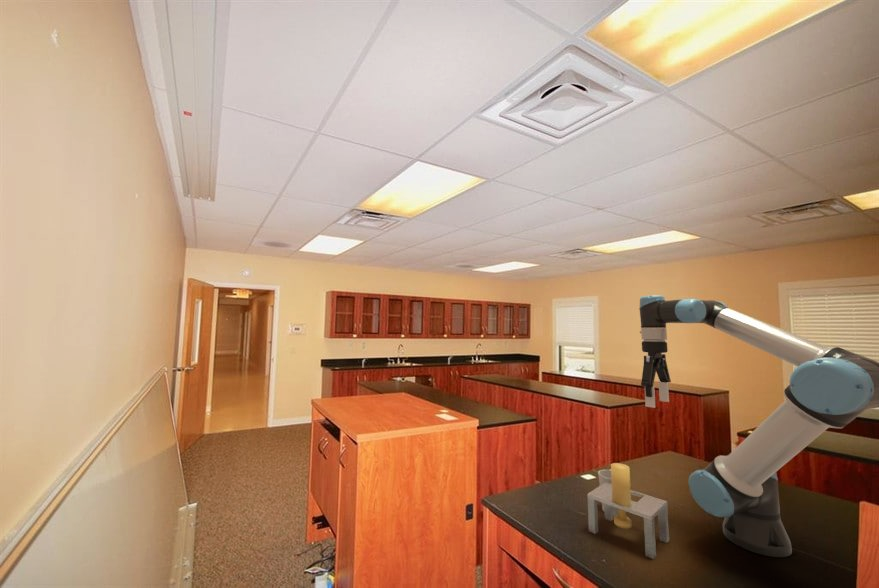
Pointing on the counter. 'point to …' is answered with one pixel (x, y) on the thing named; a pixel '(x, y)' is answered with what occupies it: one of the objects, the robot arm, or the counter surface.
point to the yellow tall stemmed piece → (621, 492)
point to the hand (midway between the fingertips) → (657, 404)
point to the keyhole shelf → (644, 508)
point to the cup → (606, 477)
